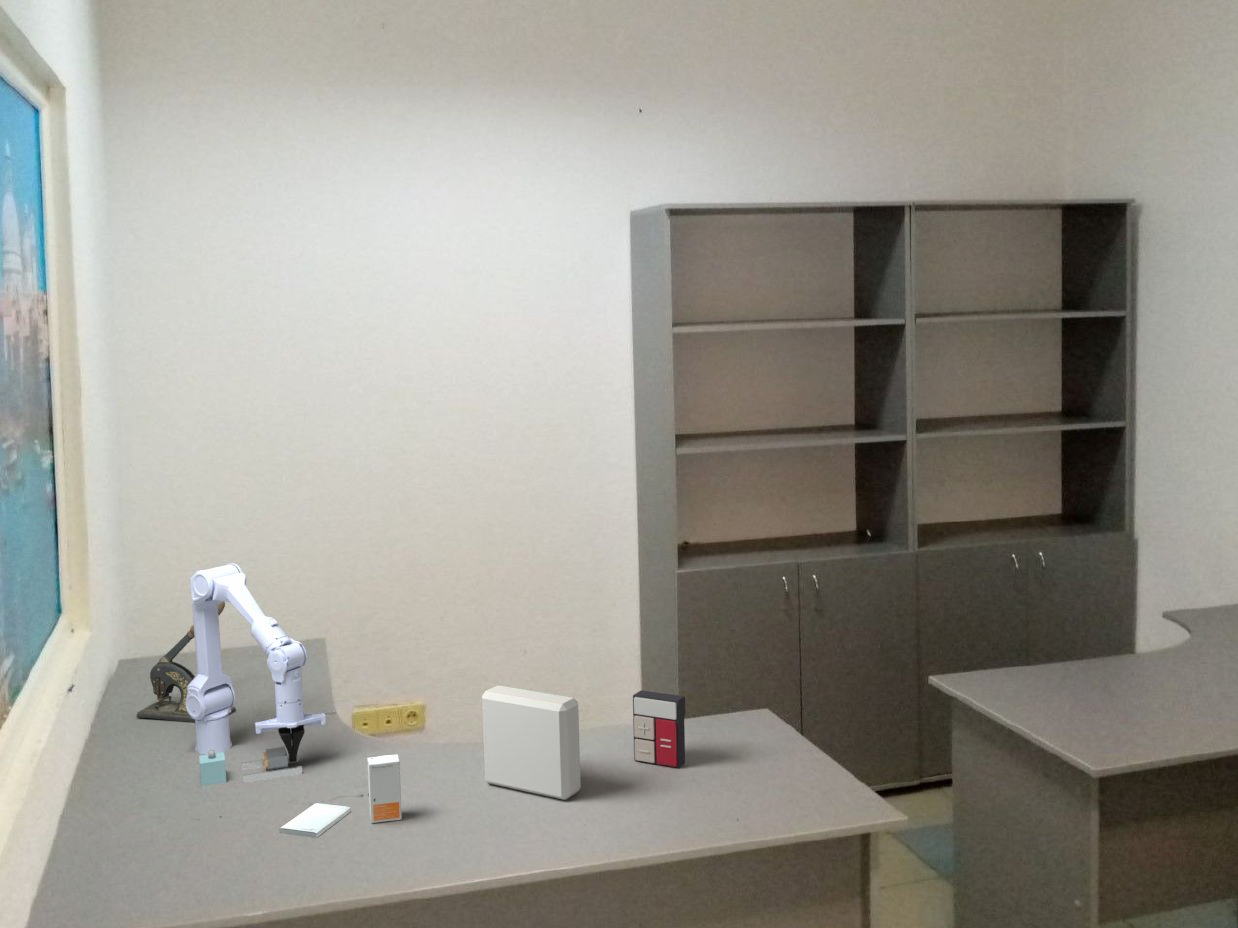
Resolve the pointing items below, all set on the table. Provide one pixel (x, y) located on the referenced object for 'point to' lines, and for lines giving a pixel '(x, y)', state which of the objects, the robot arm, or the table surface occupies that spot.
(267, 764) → the block
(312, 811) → the hard drive
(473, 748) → the table surface
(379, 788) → the skincare box
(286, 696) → the robot arm
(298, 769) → the frame
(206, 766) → the block
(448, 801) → the table surface
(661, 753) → the calculator
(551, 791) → the bevelled white case
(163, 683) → the embossing press
